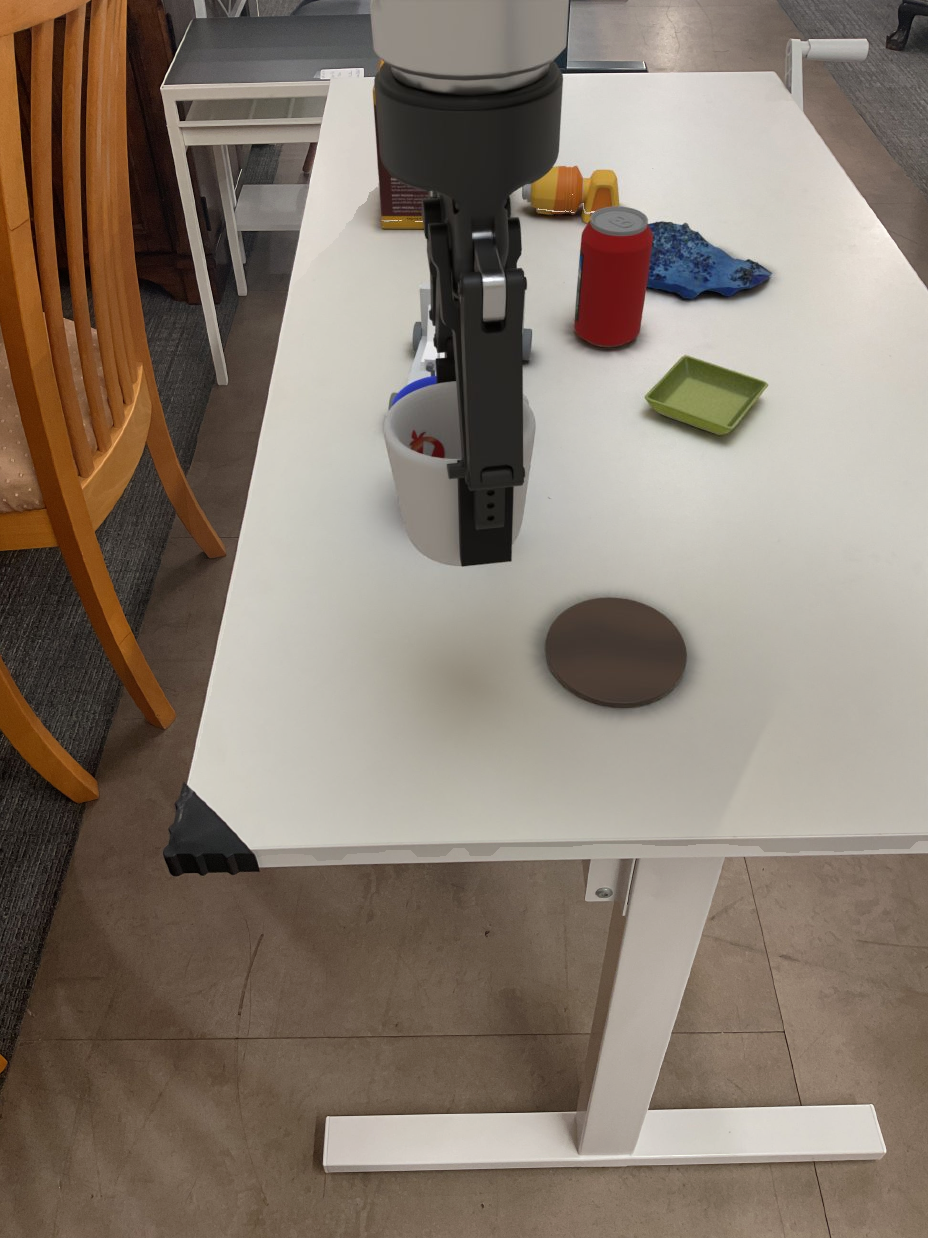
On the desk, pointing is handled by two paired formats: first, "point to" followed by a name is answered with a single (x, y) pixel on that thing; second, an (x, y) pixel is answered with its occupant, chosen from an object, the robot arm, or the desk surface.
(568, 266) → the desk surface
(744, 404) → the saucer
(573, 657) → the coaster
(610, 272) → the beverage can
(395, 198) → the supplement box
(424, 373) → the toy car
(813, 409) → the desk surface
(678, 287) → the rock
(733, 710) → the desk surface
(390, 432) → the cup
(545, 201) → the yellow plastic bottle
